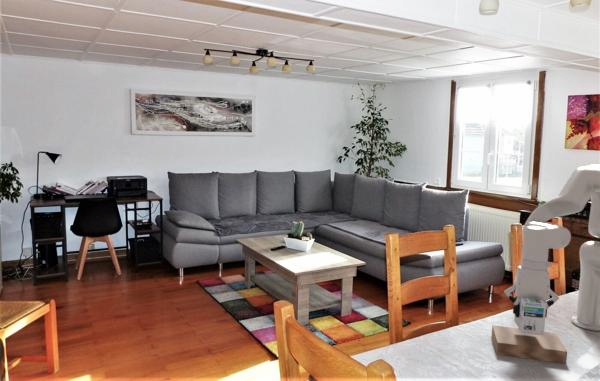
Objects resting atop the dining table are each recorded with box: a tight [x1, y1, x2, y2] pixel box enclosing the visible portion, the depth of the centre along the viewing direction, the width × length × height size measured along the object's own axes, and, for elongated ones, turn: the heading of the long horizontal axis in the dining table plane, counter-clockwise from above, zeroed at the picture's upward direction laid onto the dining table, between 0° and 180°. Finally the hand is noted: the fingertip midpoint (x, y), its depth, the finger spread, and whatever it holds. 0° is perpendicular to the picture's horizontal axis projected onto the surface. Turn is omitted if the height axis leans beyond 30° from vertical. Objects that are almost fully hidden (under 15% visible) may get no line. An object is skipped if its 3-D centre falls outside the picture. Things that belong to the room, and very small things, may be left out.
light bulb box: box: [513, 298, 546, 336], centre depth 152 cm, size 11×7×11 cm, turn 168°
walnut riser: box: [491, 325, 568, 365], centre depth 153 cm, size 20×14×4 cm
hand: (529, 317), depth 152 cm, fingers closed on light bulb box, 7 cm apart
